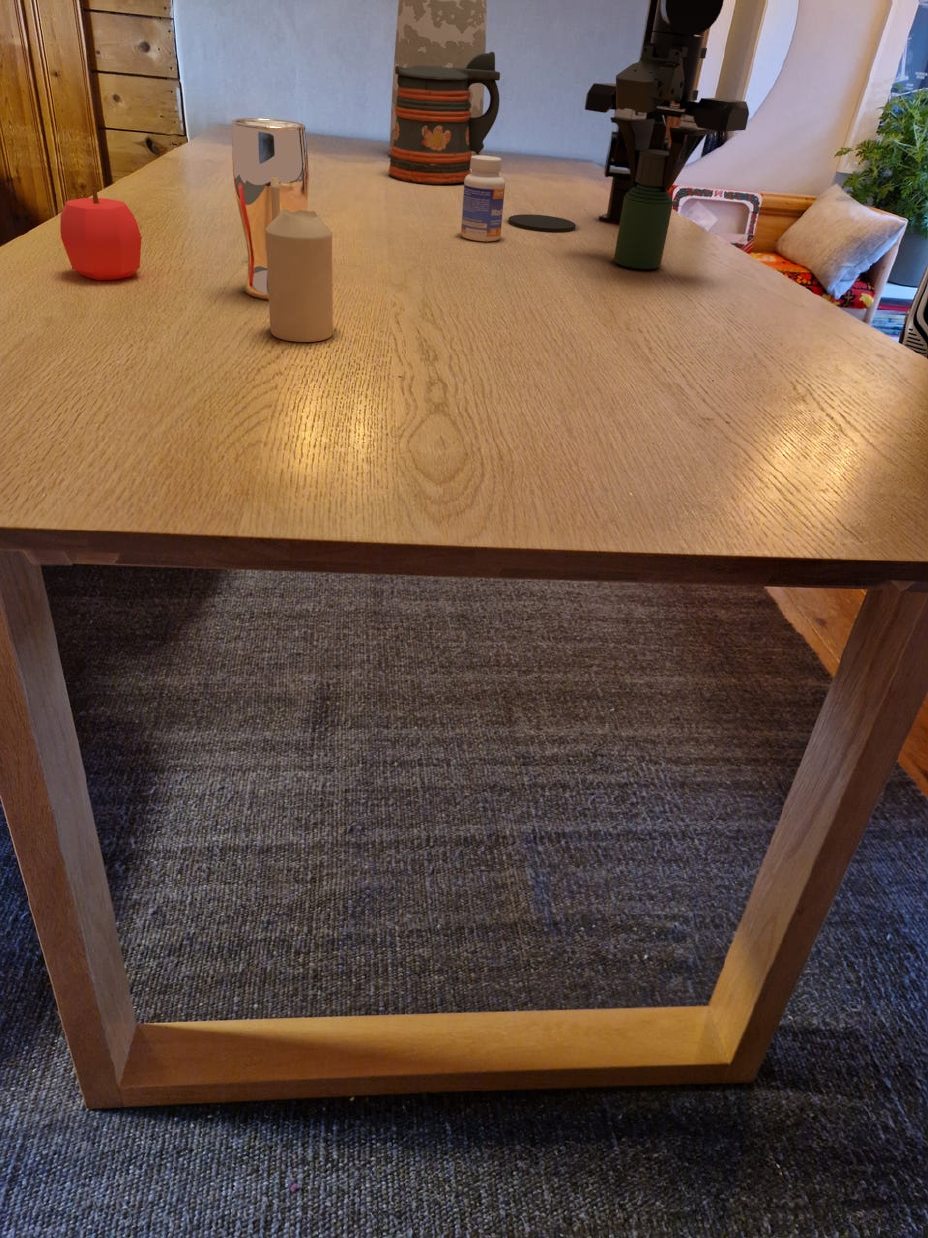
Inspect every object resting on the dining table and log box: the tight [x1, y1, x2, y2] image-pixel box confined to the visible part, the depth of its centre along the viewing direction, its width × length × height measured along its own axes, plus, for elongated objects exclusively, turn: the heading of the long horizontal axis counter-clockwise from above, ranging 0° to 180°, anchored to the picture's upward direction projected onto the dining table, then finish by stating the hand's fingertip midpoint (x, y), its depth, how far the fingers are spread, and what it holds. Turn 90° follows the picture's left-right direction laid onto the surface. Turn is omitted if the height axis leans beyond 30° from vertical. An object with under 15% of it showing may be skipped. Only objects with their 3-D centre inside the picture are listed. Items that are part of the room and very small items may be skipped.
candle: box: [265, 209, 334, 343], centre depth 74 cm, size 6×6×10 cm
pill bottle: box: [460, 154, 506, 242], centre depth 114 cm, size 5×5×10 cm
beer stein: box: [388, 51, 501, 186], centre depth 151 cm, size 19×15×20 cm
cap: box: [635, 149, 669, 186], centre depth 104 cm, size 4×4×3 cm
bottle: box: [613, 183, 674, 270], centre depth 107 cm, size 6×6×12 cm
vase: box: [389, 0, 488, 162], centre depth 167 cm, size 20×19×38 cm
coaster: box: [507, 213, 577, 233], centre depth 128 cm, size 10×10×1 cm
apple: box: [59, 187, 142, 281], centre depth 86 cm, size 8×8×8 cm
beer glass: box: [231, 117, 310, 301], centre depth 83 cm, size 7×7×15 cm
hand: (649, 188), depth 105 cm, fingers closed on cap, 4 cm apart
